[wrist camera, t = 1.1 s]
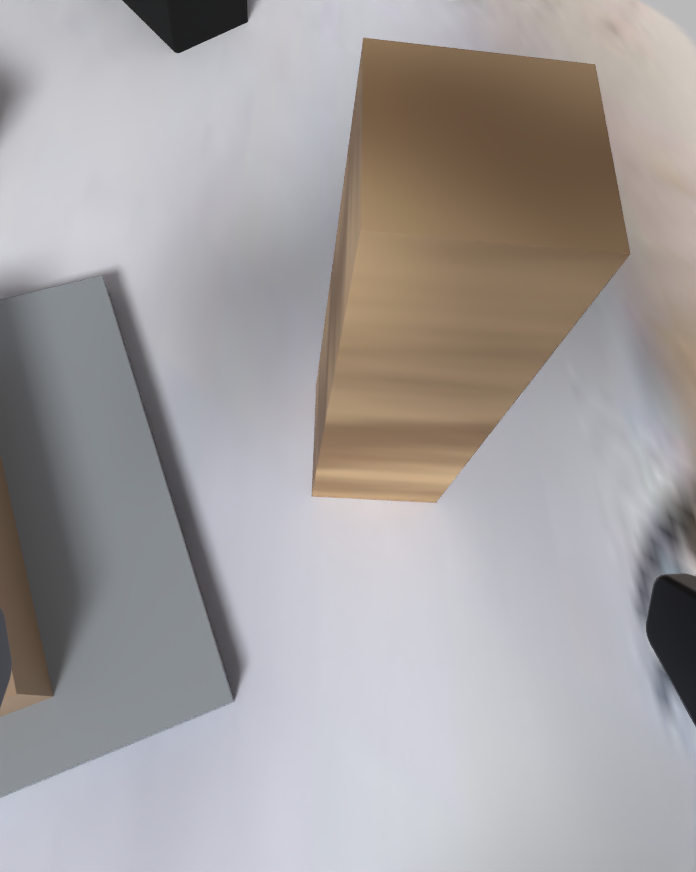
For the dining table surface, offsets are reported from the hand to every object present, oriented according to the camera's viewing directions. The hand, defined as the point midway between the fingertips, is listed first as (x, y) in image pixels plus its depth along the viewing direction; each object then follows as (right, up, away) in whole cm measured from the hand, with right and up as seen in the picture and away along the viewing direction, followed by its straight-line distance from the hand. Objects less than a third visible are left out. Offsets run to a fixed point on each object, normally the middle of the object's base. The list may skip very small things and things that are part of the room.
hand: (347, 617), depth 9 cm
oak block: (+1, +2, +15) cm, 16 cm away
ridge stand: (-12, -1, +13) cm, 17 cm away
